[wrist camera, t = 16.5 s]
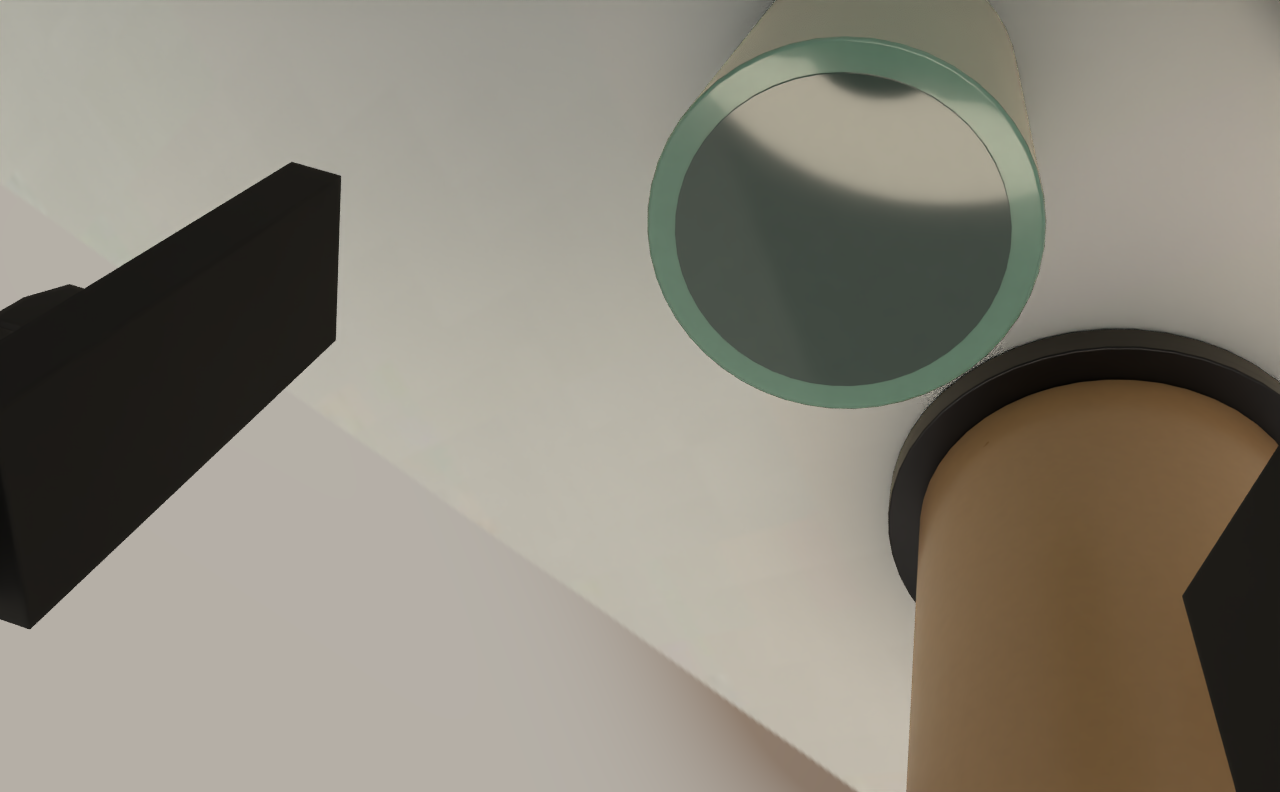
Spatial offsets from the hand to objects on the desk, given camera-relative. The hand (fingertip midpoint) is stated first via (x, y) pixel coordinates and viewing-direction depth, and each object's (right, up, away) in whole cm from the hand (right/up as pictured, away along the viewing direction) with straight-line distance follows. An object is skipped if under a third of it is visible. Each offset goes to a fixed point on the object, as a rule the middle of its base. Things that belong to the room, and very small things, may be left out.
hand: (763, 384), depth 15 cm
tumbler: (+5, +8, +14) cm, 17 cm away
